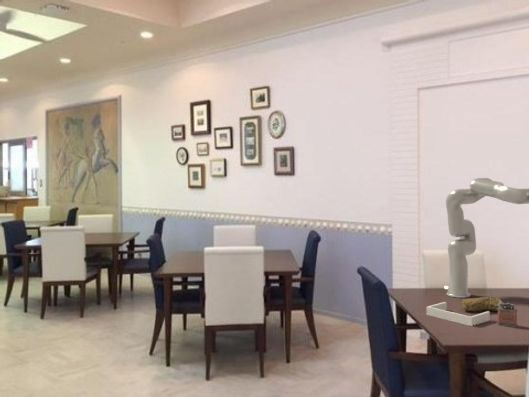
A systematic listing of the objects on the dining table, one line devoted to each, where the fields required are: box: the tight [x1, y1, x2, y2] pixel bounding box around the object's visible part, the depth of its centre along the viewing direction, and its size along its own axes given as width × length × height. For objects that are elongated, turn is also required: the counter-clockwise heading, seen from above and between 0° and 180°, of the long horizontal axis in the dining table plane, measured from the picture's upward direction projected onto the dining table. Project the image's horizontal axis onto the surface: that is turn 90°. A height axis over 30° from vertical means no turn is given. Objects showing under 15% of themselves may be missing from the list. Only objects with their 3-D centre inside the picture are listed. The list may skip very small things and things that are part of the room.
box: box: [425, 301, 491, 327], centre depth 244 cm, size 24×15×4 cm, turn 36°
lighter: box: [497, 302, 518, 327], centre depth 230 cm, size 8×3×10 cm, turn 71°
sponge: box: [460, 296, 503, 312], centre depth 255 cm, size 13×8×20 cm
